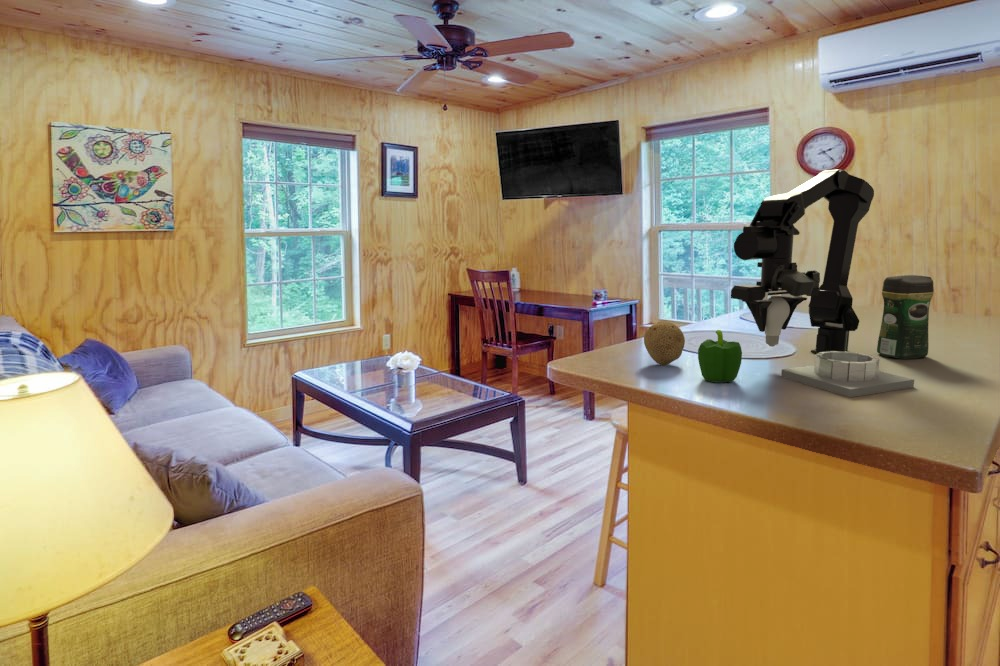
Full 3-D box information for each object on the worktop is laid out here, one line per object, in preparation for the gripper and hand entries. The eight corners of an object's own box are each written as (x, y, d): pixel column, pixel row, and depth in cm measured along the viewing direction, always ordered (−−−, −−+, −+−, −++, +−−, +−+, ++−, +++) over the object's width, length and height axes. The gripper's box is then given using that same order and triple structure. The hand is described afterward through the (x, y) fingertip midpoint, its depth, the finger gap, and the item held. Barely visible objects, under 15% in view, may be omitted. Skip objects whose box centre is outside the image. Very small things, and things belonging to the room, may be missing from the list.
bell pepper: (736, 387, 114) (738, 337, 113) (693, 382, 119) (694, 333, 117) (744, 377, 121) (746, 329, 120) (703, 373, 126) (704, 327, 124)
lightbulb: (790, 349, 125) (794, 297, 123) (759, 349, 126) (762, 298, 124) (783, 343, 131) (786, 294, 129) (753, 343, 132) (756, 294, 130)
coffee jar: (906, 351, 141) (914, 273, 138) (934, 358, 133) (943, 275, 130) (869, 353, 140) (876, 274, 136) (895, 360, 132) (903, 277, 129)
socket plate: (840, 368, 127) (840, 361, 126) (913, 387, 112) (914, 379, 112) (781, 376, 121) (781, 369, 121) (849, 397, 107) (850, 389, 106)
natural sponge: (652, 358, 140) (653, 316, 139) (690, 362, 135) (691, 319, 134) (637, 366, 133) (638, 322, 131) (676, 371, 128) (678, 325, 126)
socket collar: (842, 365, 123) (843, 349, 122) (889, 377, 113) (891, 359, 113) (802, 371, 120) (804, 354, 119) (848, 383, 110) (850, 365, 109)
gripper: (770, 261, 114) (766, 341, 117) (843, 257, 120) (837, 332, 123) (730, 258, 125) (727, 331, 128) (799, 255, 131) (795, 324, 134)
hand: (772, 330), depth 128 cm, fingers closed on lightbulb, 5 cm apart
